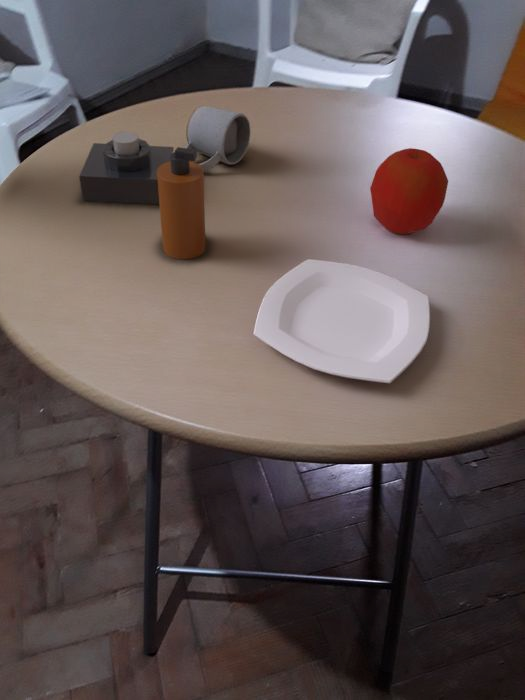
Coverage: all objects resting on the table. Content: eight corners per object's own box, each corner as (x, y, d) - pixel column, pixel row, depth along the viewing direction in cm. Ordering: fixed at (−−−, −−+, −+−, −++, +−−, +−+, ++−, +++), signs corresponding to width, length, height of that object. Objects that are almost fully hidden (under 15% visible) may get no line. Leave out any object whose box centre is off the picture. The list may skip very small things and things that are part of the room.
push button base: (83, 201, 90) (76, 162, 86) (97, 167, 97) (91, 130, 93) (167, 205, 90) (164, 166, 86) (174, 171, 97) (172, 134, 93)
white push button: (112, 155, 88) (110, 142, 87) (116, 144, 91) (114, 130, 90) (137, 157, 89) (136, 143, 87) (141, 145, 91) (140, 131, 90)
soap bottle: (156, 254, 82) (147, 155, 72) (172, 231, 86) (166, 135, 76) (196, 263, 81) (193, 164, 71) (211, 239, 85) (209, 142, 75)
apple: (442, 247, 86) (465, 170, 78) (368, 243, 86) (384, 165, 78) (429, 207, 93) (449, 133, 85) (361, 204, 93) (375, 129, 85)
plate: (231, 350, 69) (231, 337, 68) (298, 259, 82) (300, 247, 81) (398, 412, 64) (402, 399, 63) (442, 304, 77) (447, 292, 76)
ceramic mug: (210, 139, 105) (209, 94, 100) (251, 153, 102) (252, 107, 97) (171, 165, 99) (167, 118, 93) (213, 181, 96) (212, 133, 91)
